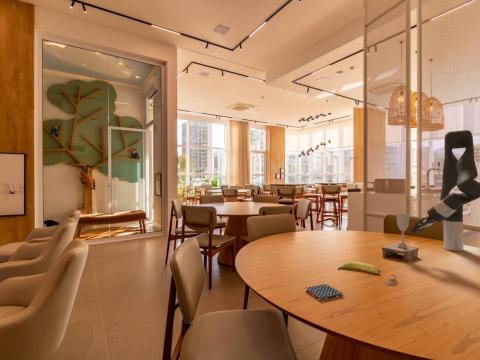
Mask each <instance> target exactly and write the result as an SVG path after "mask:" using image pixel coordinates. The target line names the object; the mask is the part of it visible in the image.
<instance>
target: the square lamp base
mask: <svg viewBox="0 0 480 360" xmlns="http://www.w3.org/2000/svg"><path fill="white" fill-rule="evenodd" d="M398 244H399V243H390V244H388V245H384V246H382V247H381V251H382V257H384V258H386V257H389V256H392V255H395V254H401V255H403V262H411V261H413V260H414V259H417V258H419V250H420V249H419V247H416V246H410V245H407V247H408V248H401V247H397V246H398Z"/></svg>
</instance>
